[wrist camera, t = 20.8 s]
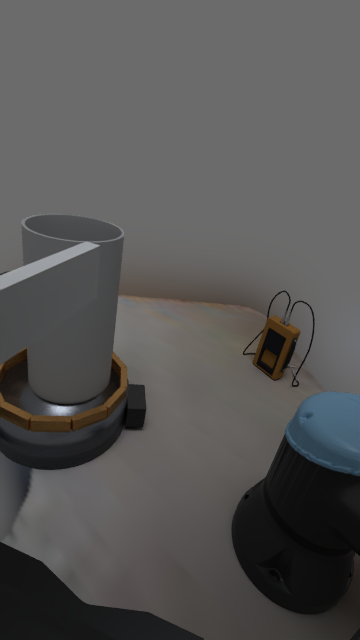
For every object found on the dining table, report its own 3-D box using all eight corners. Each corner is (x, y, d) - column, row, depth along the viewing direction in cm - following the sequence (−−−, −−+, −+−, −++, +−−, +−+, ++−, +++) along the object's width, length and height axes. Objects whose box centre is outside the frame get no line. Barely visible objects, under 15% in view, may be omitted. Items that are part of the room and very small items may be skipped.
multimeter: (312, 379, 81) (347, 305, 71) (287, 391, 75) (320, 312, 65) (266, 347, 90) (291, 277, 81) (240, 355, 85) (264, 281, 75)
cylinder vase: (9, 386, 52) (-3, 221, 40) (65, 349, 62) (67, 210, 51) (77, 419, 48) (85, 249, 37) (123, 374, 59) (141, 231, 47)
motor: (139, 379, 69) (145, 343, 65) (144, 469, 51) (152, 426, 47) (13, 373, 64) (10, 333, 60) (-32, 470, 46) (-40, 422, 42)
